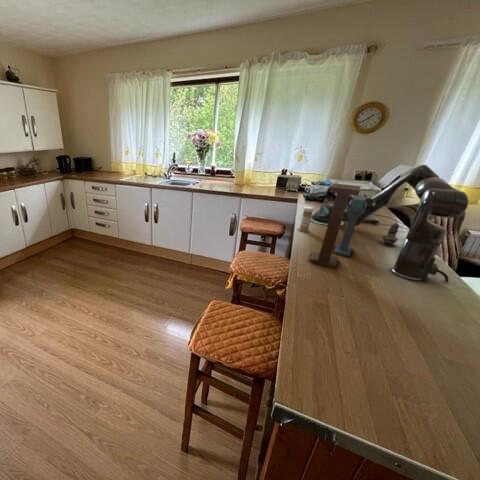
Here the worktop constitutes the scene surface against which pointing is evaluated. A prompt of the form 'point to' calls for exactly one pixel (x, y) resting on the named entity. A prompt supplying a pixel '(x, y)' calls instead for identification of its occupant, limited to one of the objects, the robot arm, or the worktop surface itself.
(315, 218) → the dark green shoe
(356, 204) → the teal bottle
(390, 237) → the dark grey figurine
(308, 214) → the sprinkles bottle
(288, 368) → the worktop surface
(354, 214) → the blue grey stand
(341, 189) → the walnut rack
